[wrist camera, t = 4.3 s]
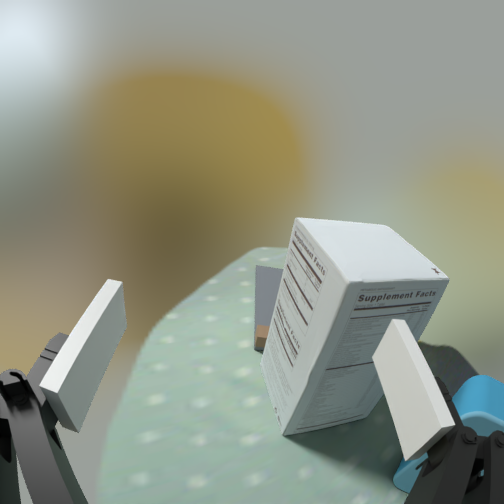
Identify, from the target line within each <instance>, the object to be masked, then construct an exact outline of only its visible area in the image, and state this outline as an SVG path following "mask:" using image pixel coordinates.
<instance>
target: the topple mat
mask: <svg viewBox="0 0 504 504" xmlns="http://www.w3.org/2000/svg"><path fill="white" fill-rule="evenodd" d="M282 274H283V269H278V268H271V267H264V266H257V265H256V291H255V338H254V350H262V351H264V348H265V344H266V340H267V336H268V332H269V328H270V324H271V320H272V316H273V312H274V307H275V303H276V299H277V295H278V291H279V287H280V282H281V278H282Z"/></svg>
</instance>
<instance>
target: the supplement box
mask: <svg viewBox="0 0 504 504" xmlns="http://www.w3.org/2000/svg"><path fill="white" fill-rule="evenodd" d="M448 282H449V278H448V277H447V276H446V275H445V274H444V273H443V272H442V271H441V270H439V268H437V267H436V266H435V265H434V264H433V263H432V262H431V261H429V260H428V259H427V258H426V257H425V256H423V255H422V254H421V253H420V252H419V251H418V250H416V249H415V248H414V247H413V246H412V245H410V244H409V243H408V242H406V241H405V240H404V239H403V238H402V237H400V235H398V234H397V233H396V232H395V231H393V230H392V229H391V228H389V227H388V226H386V225H378V224H368V223H358V222H346V221H335V220H323V219H309V218H295V221H294V225H293V230H292V234H291V239H290V243H289V247H288V252H287V256H286V261H285V265H284V269H283V274H282V278H281V282H280V287H279V291H278V295H277V299H276V303H275V307H274V312H273V316H272V320H271V324H270V328H269V332H268V336H267V340H266V344H265V348H264V352H263V356H262V359H261V363H260V368H261V371H262V374H263V378H264V381H265V384H266V387H267V390H268V394H269V397H270V400H271V403H272V406H273V409H274V412H275V415H276V418H277V421H278V424H279V428H280V431H281V434H282V435H284V436H285V435H292V434H297V433H303V432H308V431H313V430H318V429H322V428H327V427H331V426H335V425H340V424H344V423H347V422H351V421H355V420H359V419H363V418H366V417H367V416H368V415H369V413H370V412H371V411H372V409H373V408H374V407H375V405H376V404H377V403H378V401H379V400H380V399H381V397H382V396H383V394H384V390H383V387H382V384H381V381H380V379H379V376H378V373H377V370H376V367H375V364H374V361H373V359H372V356H373V355H374V353H375V351H376V349H377V347H378V346H379V344H380V342H381V340H382V338H383V336H384V334H385V332H386V330H387V328H388V326H389V324H390V322H391V320H392V319H399V320H405V322H406V324H407V326H408V327H409V329H410V331H411V333H412V335H413V337H414V339H415V341H416V343H417V341H418V340H419V338H420V336H421V335H422V333H423V331H424V329H425V327H426V326H427V324H428V322H429V320H430V318H431V316H432V314H433V313H434V311H435V309H436V307H437V305H438V303H439V301H440V299H441V297H442V295H443V293H444V291H445V289H446V287H447V284H448Z"/></svg>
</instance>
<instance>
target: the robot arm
mask: <svg viewBox="0 0 504 504" xmlns="http://www.w3.org/2000/svg"><path fill="white" fill-rule="evenodd" d="M126 327H127V323H126V315H125V305H124V295H123V283H122V282H119V281H114V280H110V279H108V280H107V281H106V283H105V284H104V285H103V287H102V288H101V290H100V291H99V293H98V294H97V295H96V297H95V298H94V300H93V301H92V302H91V304H90V305H89V307H88V308H87V310H86V311H85V313H84V314H83V316H82V317H81V319H80V320H79V322H78V323H77V325H76V326H75V328H74V329H73V331H72V332H71V334H70V335H66V334H63V333H58V334H57V335H56V336H54V337H53V338H52V339H50V341H49V342H48V344H47V345H46V347H45V350H43V352H42V353H41V354H40V357H39V358H38V359H37V361H36V362H35V364H34V365H33V367H32V368H31V370H30V372H29V374H28V375H27V377H26V376H25V374H24V373H23V372H22V371H20V370H17V369H9V370H6V371H4V372H3V373H1V374H0V504H21V501H20V500H21V499H20V492H19V483H18V472H17V458H16V453H17V457H18V460H19V464H20V467H21V470H22V473H23V477H24V479H25V483H26V485H27V488H28V491H29V494H30V496H31V499H32V501H33V504H88V502H87V500H86V498H85V496H84V494H83V492H82V490H81V488H80V486H79V484H78V482H77V479H76V477H75V475H74V473H73V471H72V468H71V466H70V464H69V461H68V459H67V456H66V454H65V451H64V449H63V446H62V443H61V441H60V438H59V435H58V432H57V430H56V428H55V425H56V423H57V421H58V420H59V422H60V424H61V425H62V427H64V428H67V429H69V430H72V431H75V432H77V433H79V432H80V429H81V427H82V424H83V422H84V419H85V417H86V414H87V412H88V410H89V407H90V405H91V402H92V400H93V398H94V396H95V393H96V391H97V389H98V387H99V384H100V382H101V380H102V378H103V375H104V373H105V371H106V369H107V367H108V365H109V362H110V360H111V358H112V356H113V354H114V352H115V349H116V347H117V346H118V343H119V341H120V339H121V337H122V335H123V333H124V331H125V329H126ZM372 359H373V361H374V364H375V367H376V370H377V373H378V376H379V379H380V381H381V384H382V387H383V390H384V393H385V396H386V399H387V402H388V405H389V409H390V412H391V415H392V418H393V421H394V425H395V428H396V431H397V434H398V438H399V441H400V445H401V448H402V452H403V455H404V459H405V461H409V460H415V459H419V458H420V457H421V456H423V455H424V454H425V453H426V452H427V455H428V458H426V459H425V460H424V461H423V462H422V463H420V464H419V465H418V466H417V467H416V468H415V470H418V469H419V468H420V467H421V466H422V468H421V470H420V471H419V474H418V477H417V479H416V481H415V483H414V485H413V487H412V489H411V491H410V493H409V495H408V497H407V499H406V501H405V503H404V504H504V432H502V431H500V430H496V431H494V432H492V433H491V434H490V435H489V436H488V437H487V436H478V435H477V433H476V432H475V430H473V429H472V428H471V427H468V426H464V425H463V423H462V420H461V418H460V416H459V414H458V411H457V409H456V407H455V405H454V403H453V402H452V398H451V396H450V395H449V392H448V390H447V388H446V386H445V384H444V383H443V382H442V381H441V380H440V378H439V377H434V376H433V374H432V372H431V370H430V368H429V366H428V364H427V362H426V360H425V358H424V356H423V354H422V352H421V350H420V348H419V346H418V344H417V343H416V341H415V339H414V337H413V335H412V333H411V331H410V329H409V327H408V326H407V324H406V322H405V320H399V319H392V320H391V322H390V324H389V326H388V328H387V330H386V332H385V334H384V336H383V338H382V340H381V342H380V344H379V346H378V347H377V349H376V351H375V353H374V355H373V356H372ZM482 470H484V475H483V476H481V471H482Z"/></svg>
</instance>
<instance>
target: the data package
mask: <svg viewBox="0 0 504 504" xmlns="http://www.w3.org/2000/svg"><path fill="white" fill-rule="evenodd" d="M452 402H453V403H454V405H455V407H456V409H457V411H458V414H459V416H460V418H461V420H462V423H463V425H464V426H468V427H471V428H472V429H473V430H475V432H476V433H477V435H478V436H487V437H488V436H489V435H490V434H491V433H492V432H494V431H496V430H500V431H502V432H504V384H503V383H501V382H499V381H497V380H495V379H494V378H492V377H489V376H486V375H478V376H474V377H472V378H470V379H468V380H467V381H466V382H465V383H464V384H463V385H462V387H461V388H460V389H459V390H458V391H457V393H456V394H455V395H454V396H453V398H452ZM426 458H428V455H427V452H426V453H425V454H424V455H423V456H421V457H420V458H419V459H415V460H409V461H405V459H404V456H403V459H402V461H401V463H400V465H399V467H398V469H397V471H396V473H395V475H394V478H393V483H394V485H395V486H396V487H397V488H399V489H401V490H403V491H405V492H407V493H410V491H411V489H412V487H413V485H414V483H415V481H416V479H417V477H418V474H419V471H420V470H421V468H422V466H421V467H420V468H419V469H418V470H415V468H416V467H417V466H418V465H419V464H420V463H422V462H423V461H424V460H425V459H426ZM483 475H484V470H482V471H481V476H483Z"/></svg>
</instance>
